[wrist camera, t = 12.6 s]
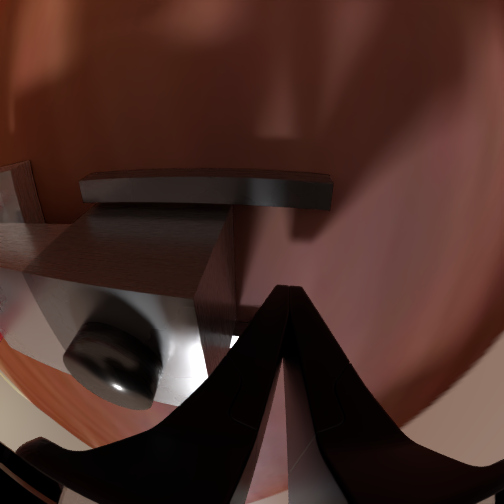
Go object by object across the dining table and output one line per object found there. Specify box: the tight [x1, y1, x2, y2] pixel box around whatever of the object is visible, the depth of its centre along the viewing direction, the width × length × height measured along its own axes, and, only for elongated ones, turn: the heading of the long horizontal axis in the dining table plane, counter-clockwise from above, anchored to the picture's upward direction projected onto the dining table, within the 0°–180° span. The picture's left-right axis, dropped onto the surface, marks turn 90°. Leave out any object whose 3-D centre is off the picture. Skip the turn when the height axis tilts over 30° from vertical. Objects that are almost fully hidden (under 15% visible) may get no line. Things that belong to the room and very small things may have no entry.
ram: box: [0, 202, 237, 410], centre depth 8 cm, size 10×5×5 cm, turn 90°
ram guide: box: [79, 169, 333, 348], centre depth 10 cm, size 8×7×1 cm
